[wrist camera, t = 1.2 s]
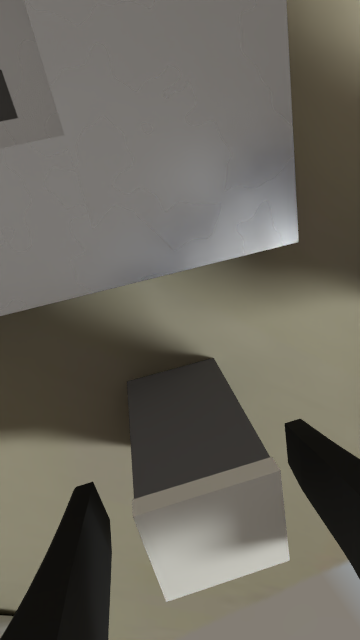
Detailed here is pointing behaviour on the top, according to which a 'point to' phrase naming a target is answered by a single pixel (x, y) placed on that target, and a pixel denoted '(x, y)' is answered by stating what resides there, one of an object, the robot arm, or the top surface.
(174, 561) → the plug
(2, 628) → the supplement tub
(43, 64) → the socket plate
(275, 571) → the top surface
